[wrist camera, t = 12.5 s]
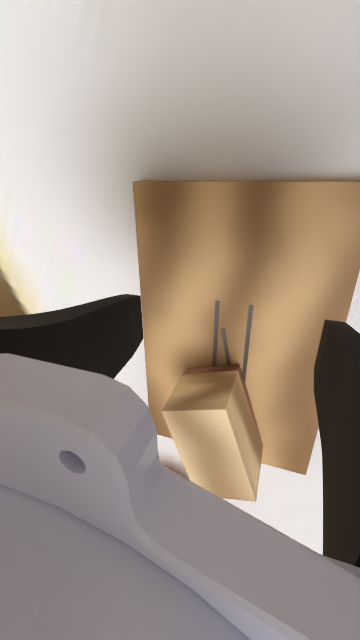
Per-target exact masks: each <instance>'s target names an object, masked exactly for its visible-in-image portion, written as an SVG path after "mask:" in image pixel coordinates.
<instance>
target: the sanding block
mask: <svg viewBox="0 0 360 640" xmlns="http://www.w3.org/2000/svg"><path fill="white" fill-rule="evenodd" d="M162 414H163V416H164V419H165V421H166V423H167V426H168V428H169V431H170V433H171V435H172V438H173V440H174V443H175V445H176V448H177V450H178V452H179V455H180V457H181V460H182V462H183V464H184V467H185V469H186V472H187V474H188V476H189V479H190V481H192V482H194V483H195V484H197V485H199V486H201V487H202V488H204V489H206V490H208V491H209V492H211V493H213V494H215V495H216V496H218V497H220V498H226V499H236V500H245V501H255V502H256V497H257V489H258V482H259V474H260V466H261V459H262V451H263V443H262V440H261V436H260V433H259V429H258V426H257V422H256V419H255V416H254V412H253V409H252V405H251V402H250V398H249V395H248V391H247V388H246V385H245V381H244V378H243V374H242V371H241V367H240V364H237V365H226V366H215V367H204V368H193V369H185V371H184V372H183V374H182V376H181V378H180V379H179V381H178V383H177V385H176V386H175V388H174V390H173V392H172V393H171V395H170V397H169V399H168V400H167V402H166V404H165V406H164V407H163V409H162Z"/></svg>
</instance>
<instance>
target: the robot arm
mask: <svg viewBox="0 0 360 640" xmlns="http://www.w3.org/2000/svg"><path fill="white" fill-rule="evenodd" d="M142 340H143V326H142V312H141V298H140V296H138V295H130V294H124V295H117V296H113V297H109V298H105V299H101V300H97V301H93V302H90V303H86V304H82V305H78V306H74V307H69V308H65V309H61V310H56V311H50V312H44V313H38V314H30V315H20V316H9V317H0V640H360V334H359V333H358V332H357V331H356V330H354V329H353V328H352V327H351V326H349V325H348V324H347V323H345V322H341V321H333V320H325V321H324V325H323V330H322V334H321V339H320V343H319V347H318V352H317V356H316V361H315V365H314V397H315V404H316V411H317V418H318V424H319V431H320V438H321V446H322V464H323V555H321V554H318V553H317V552H315V551H313V550H311V549H309V548H308V547H306V546H304V545H302V544H301V543H299V542H297V541H295V540H294V539H292V538H290V537H288V536H287V535H285V534H283V533H281V532H280V531H278V530H276V529H274V528H273V527H271V526H269V525H267V524H266V523H264V522H262V521H260V520H259V519H257V518H255V517H253V516H252V515H250V514H248V513H246V512H244V511H243V510H241V509H239V508H237V507H236V506H234V505H232V504H230V503H229V502H227V501H225V500H223V499H222V498H220V497H218V496H216V495H215V494H213V493H211V492H209V491H208V490H206V489H204V488H202V487H201V486H199V485H197V484H195V483H194V482H192V481H190V480H188V479H186V478H185V477H183V476H181V475H179V474H178V473H176V472H174V471H172V470H171V469H169V468H167V467H165V466H164V465H163V464H162V463H161V462H160V460H159V455H158V447H157V430H156V427H155V424H154V421H153V419H152V416H151V413H150V410H149V408H148V406H147V405H146V404H145V403H144V401H143V400H142V399H141V398H140V397H139V396H138V395H137V394H136V393H135V392H134V391H133V390H132V389H131V388H130V387H129V386H127V385H125V384H123V383H121V382H118V381H116V380H114V378H115V376H116V375H117V374H118V373H119V372H120V371H121V369H122V368H123V367H124V366H125V365H126V363H127V362H128V361H129V360H130V359H131V357H132V356H133V355H134V353H135V352H136V350H137V348H138V347H139V345H140V343H141V341H142Z"/></svg>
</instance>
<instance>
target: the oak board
mask: <svg viewBox="0 0 360 640" xmlns="http://www.w3.org/2000/svg"><path fill="white" fill-rule="evenodd" d="M133 190H134V204H135V218H136V233H137V247H138V261H139V275H140V289H141V304H142V318H143V332H144V346H145V360H146V375H147V389H148V403H149V410H150V413H151V416H152V419H153V421H154V424H155V427H156V430H157V434H158V435H162V436H165V437H169V438H172V435H171V433H170V431H169V428H168V426H167V423H166V421H165V419H164V416H163V414H162V409H163V407H164V406H165V404H166V402H167V400H168V399H169V397H170V395H171V393H172V392H173V390H174V388H175V386H176V385H177V383H178V381H179V379H180V378H181V376H182V374H183V372H184V371H185V369H193V368H204V367H215V366H226V365H237V364H240V367H241V371H242V374H243V378H244V381H245V385H246V388H247V391H248V395H249V398H250V402H251V405H252V409H253V412H254V416H255V419H256V422H257V426H258V429H259V433H260V436H261V440H262V443H263V451H262V459H261V463H263V464H267V465H271V466H274V467H278V468H281V469H285V470H289V471H292V472H296V473H300V474H303V475H306V472H307V468H308V465H309V461H310V457H311V453H312V449H313V445H314V442H315V438H316V434H317V430H318V426H319V424H318V418H317V411H316V404H315V397H314V365H315V361H316V356H317V352H318V347H319V343H320V339H321V334H322V330H323V325H324V321H325V320H333V321H341V322H345V323H346V320H347V316H348V312H349V308H350V304H351V300H352V297H353V293H354V289H355V285H356V281H357V278H358V274H359V270H360V181H135V182H133Z"/></svg>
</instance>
